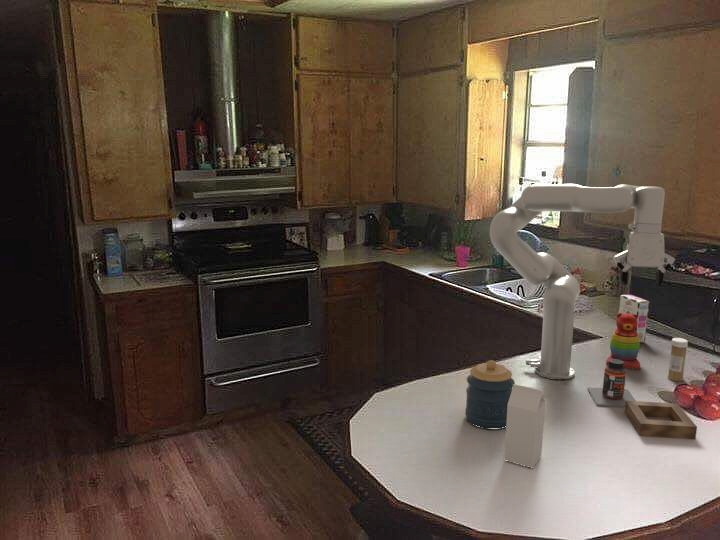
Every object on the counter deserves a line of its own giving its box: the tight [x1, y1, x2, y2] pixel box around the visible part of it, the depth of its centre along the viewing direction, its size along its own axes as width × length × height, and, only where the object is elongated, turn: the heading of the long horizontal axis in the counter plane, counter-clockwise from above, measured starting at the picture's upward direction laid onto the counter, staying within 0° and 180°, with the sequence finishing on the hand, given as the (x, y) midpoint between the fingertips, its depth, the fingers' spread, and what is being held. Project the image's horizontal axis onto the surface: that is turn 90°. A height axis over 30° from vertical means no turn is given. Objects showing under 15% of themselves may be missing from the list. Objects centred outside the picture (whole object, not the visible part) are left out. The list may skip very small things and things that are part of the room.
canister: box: [464, 359, 516, 428], centre depth 169 cm, size 13×13×18 cm
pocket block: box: [624, 400, 698, 440], centre depth 167 cm, size 14×14×4 cm
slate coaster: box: [587, 386, 637, 408], centre depth 184 cm, size 12×12×1 cm
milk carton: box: [503, 383, 546, 469], centre depth 149 cm, size 7×7×19 cm
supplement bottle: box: [602, 359, 627, 400], centre depth 183 cm, size 6×6×11 cm
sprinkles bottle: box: [667, 337, 689, 382], centre depth 197 cm, size 5×5×14 cm
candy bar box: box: [616, 294, 650, 344], centre depth 235 cm, size 11×5×16 cm, turn 14°
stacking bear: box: [605, 312, 641, 371], centre depth 210 cm, size 11×10×18 cm
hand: (641, 284), depth 185 cm, fingers open, 9 cm apart
